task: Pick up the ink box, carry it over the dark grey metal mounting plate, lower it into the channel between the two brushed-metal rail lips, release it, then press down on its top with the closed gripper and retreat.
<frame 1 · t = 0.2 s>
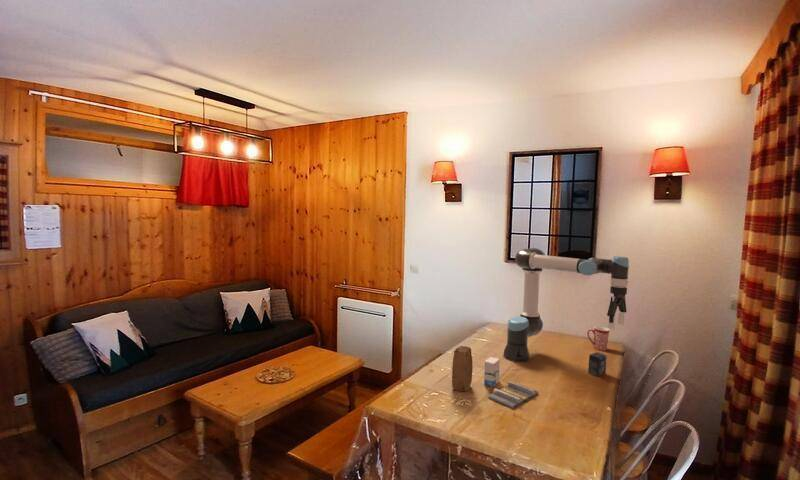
hand: (616, 326, 203), 28 cm above the table, fingers open, 13 cm apart
ink box: (491, 383, 196), on the table
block: (462, 388, 190), on the table
box: (596, 373, 211), on the table
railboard: (513, 395, 182), on the table
mug: (597, 348, 252), on the table
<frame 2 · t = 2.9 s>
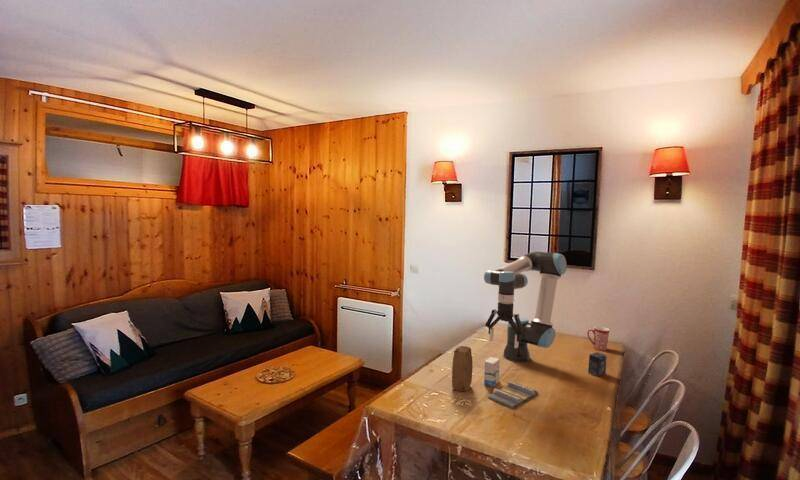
hand: (503, 344, 195), 20 cm above the table, fingers open, 13 cm apart
nothing on the table moved.
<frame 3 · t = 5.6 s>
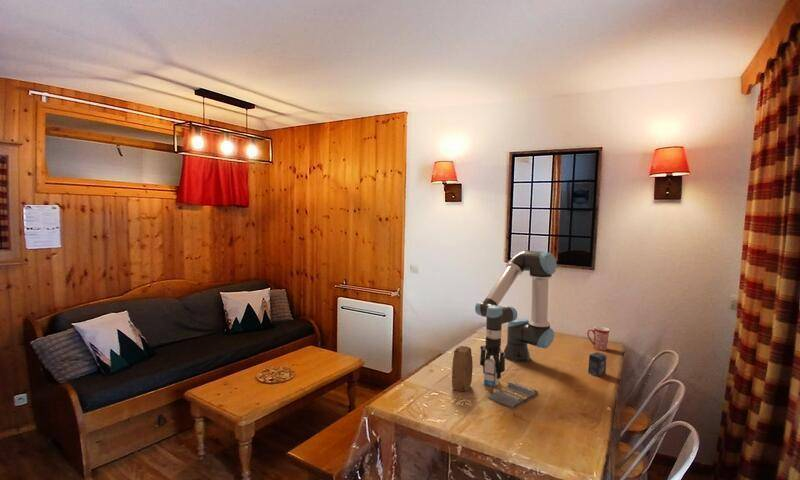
hand: (491, 382, 196), 0 cm above the table, fingers closed on ink box, 6 cm apart
ink box: (491, 383, 196), on the table, touching gripper
everything else where it was.
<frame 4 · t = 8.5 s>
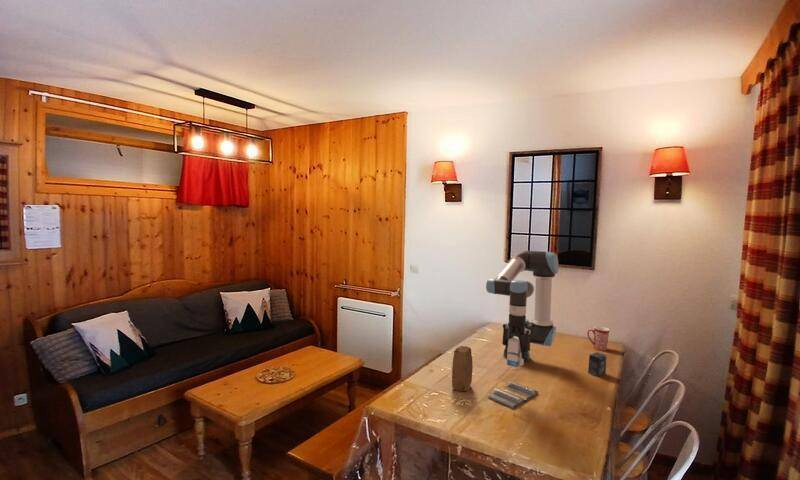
hand: (515, 362, 181), 16 cm above the table, fingers closed on ink box, 6 cm apart
ink box: (514, 364, 181), point 15 cm above the table, touching gripper
everything else where it was.
when the fingers open (2 cm above the table, at t = 11.1 s): ink box stays where it is, resting on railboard.
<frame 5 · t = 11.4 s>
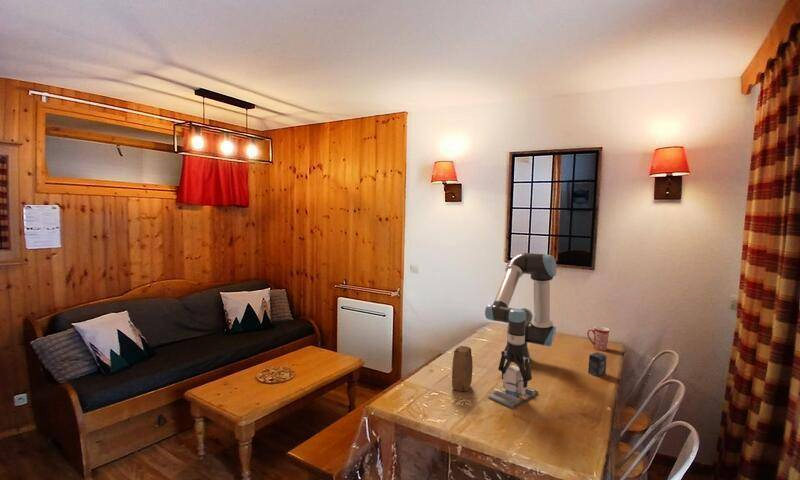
hand: (513, 389, 182), 3 cm above the table, fingers open, 9 cm apart
ink box: (513, 393, 182), point 1 cm above the table, touching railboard
everything else where it was.
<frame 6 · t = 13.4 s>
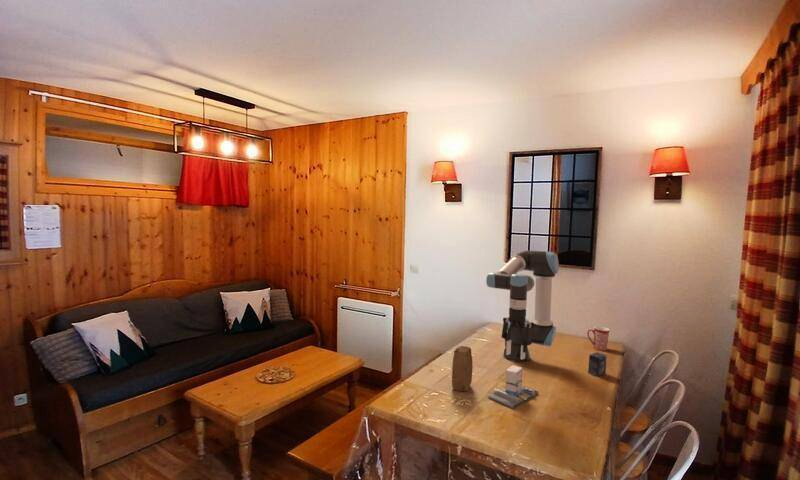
hand: (515, 356, 181), 19 cm above the table, fingers open, 7 cm apart
nothing on the table moved.
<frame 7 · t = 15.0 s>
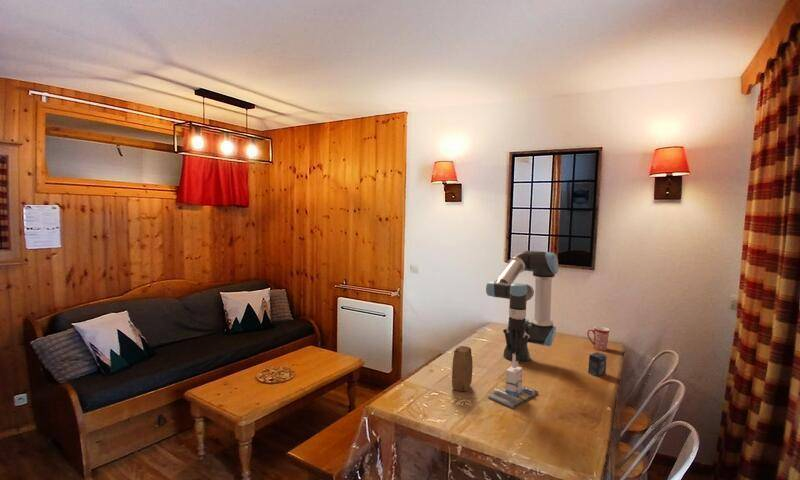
hand: (514, 367, 181), 14 cm above the table, fingers closed
nothing on the table moved.
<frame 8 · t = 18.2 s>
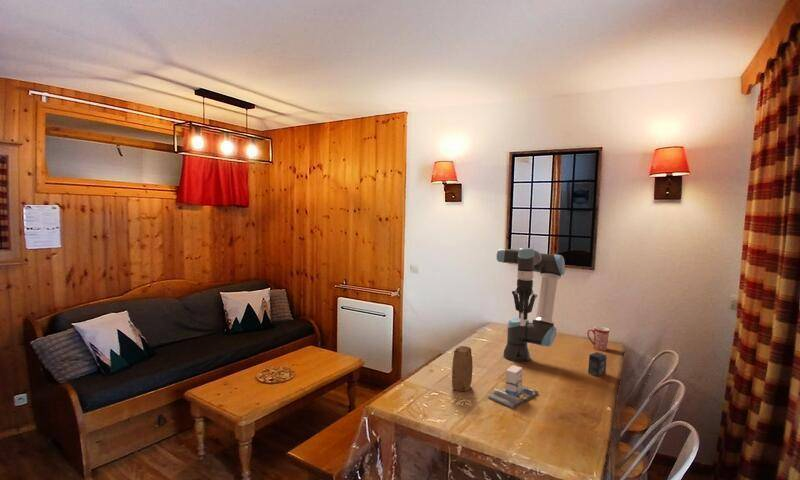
hand: (522, 325, 195), 29 cm above the table, fingers closed
nothing on the table moved.
at the end: ink box inside the target area on the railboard (0.2 cm from its centre), point 1.0 cm above the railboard's base; ink box tilted 0°; the gripper is holding nothing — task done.
